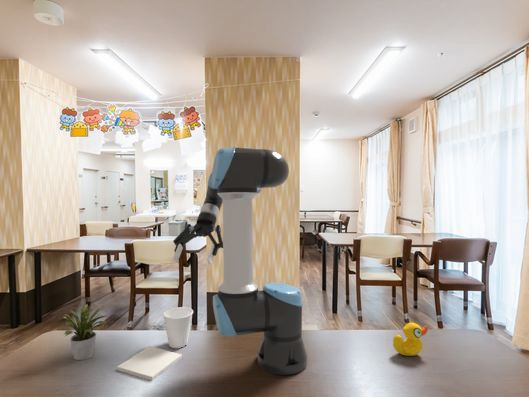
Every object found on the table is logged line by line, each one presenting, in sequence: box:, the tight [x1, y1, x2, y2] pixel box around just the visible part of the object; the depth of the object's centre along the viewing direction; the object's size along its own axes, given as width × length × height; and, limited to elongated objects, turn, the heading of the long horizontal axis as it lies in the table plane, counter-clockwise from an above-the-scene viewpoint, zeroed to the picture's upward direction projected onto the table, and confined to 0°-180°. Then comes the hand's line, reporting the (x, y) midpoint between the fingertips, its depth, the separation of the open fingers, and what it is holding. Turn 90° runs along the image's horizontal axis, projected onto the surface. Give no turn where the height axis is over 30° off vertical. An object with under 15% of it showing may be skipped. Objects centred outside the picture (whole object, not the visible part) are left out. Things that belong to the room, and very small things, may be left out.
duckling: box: [392, 322, 429, 357], centre depth 102 cm, size 11×5×10 cm, turn 98°
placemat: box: [116, 346, 183, 381], centre depth 97 cm, size 13×13×1 cm
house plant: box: [59, 303, 111, 361], centre depth 99 cm, size 14×14×16 cm
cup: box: [162, 306, 194, 349], centre depth 108 cm, size 10×10×11 cm
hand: (191, 261), depth 118 cm, fingers open, 13 cm apart
